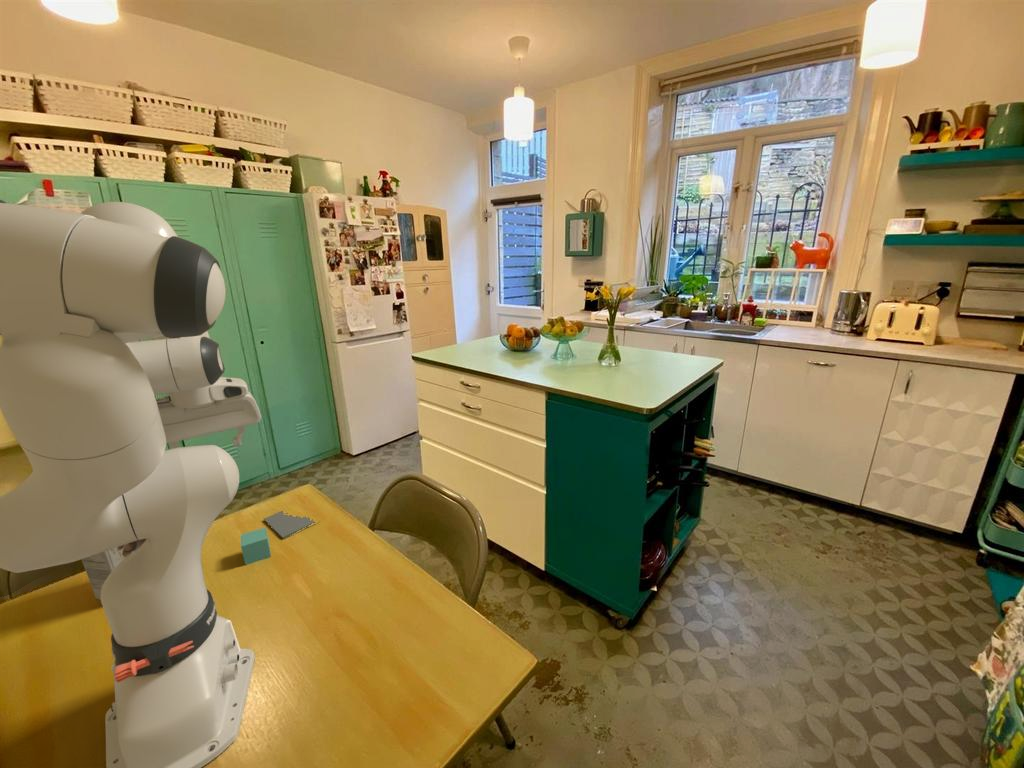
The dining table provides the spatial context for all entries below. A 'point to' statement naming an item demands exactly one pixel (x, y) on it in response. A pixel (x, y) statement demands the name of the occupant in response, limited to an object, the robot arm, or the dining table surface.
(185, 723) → the robot arm
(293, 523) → the mat
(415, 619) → the dining table surface
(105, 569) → the coffee box
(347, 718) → the dining table surface
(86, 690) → the dining table surface
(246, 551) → the teal cube
